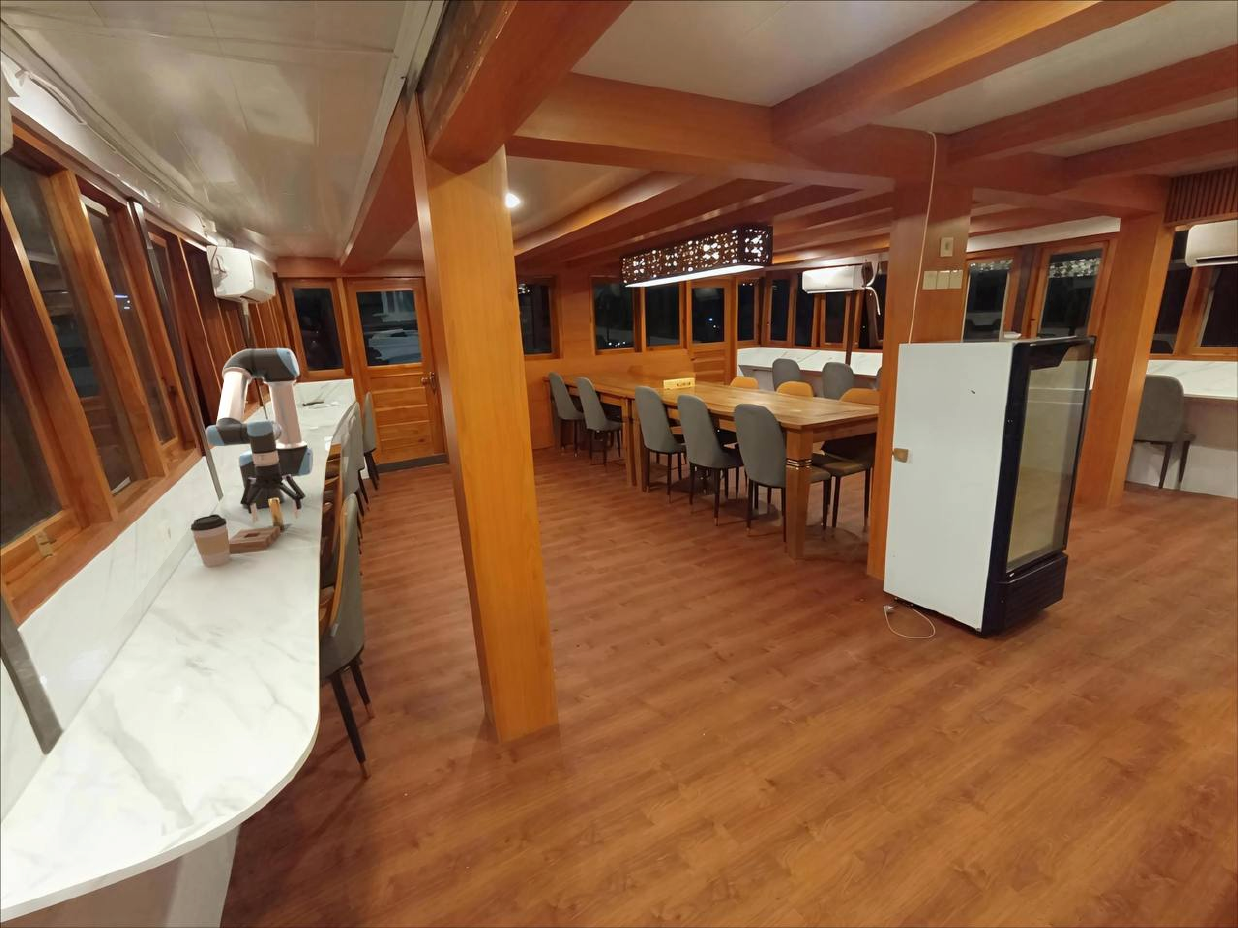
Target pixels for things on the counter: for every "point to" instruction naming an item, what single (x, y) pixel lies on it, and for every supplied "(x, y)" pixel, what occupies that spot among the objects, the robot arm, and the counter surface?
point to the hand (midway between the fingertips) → (277, 519)
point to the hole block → (253, 539)
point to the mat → (284, 527)
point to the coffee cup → (212, 540)
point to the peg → (276, 513)
